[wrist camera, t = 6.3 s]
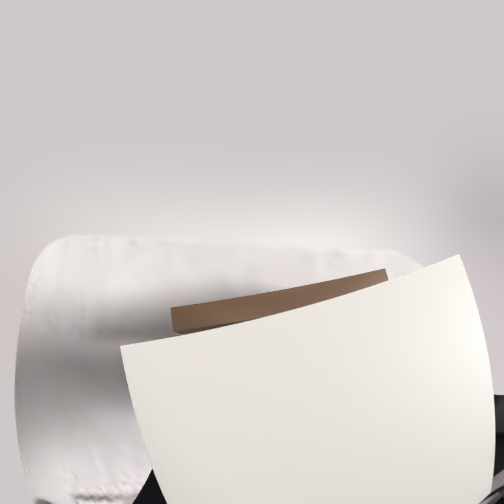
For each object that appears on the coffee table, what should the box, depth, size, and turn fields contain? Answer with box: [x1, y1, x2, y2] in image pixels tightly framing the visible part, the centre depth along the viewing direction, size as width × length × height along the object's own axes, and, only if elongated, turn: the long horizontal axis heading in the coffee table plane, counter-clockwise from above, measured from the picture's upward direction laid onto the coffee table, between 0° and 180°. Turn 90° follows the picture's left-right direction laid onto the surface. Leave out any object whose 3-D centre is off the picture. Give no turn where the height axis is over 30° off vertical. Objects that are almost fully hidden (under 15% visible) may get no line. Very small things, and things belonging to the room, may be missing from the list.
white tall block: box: [120, 254, 495, 504], centre depth 8 cm, size 5×5×13 cm
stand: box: [171, 269, 388, 335], centre depth 16 cm, size 9×12×8 cm
